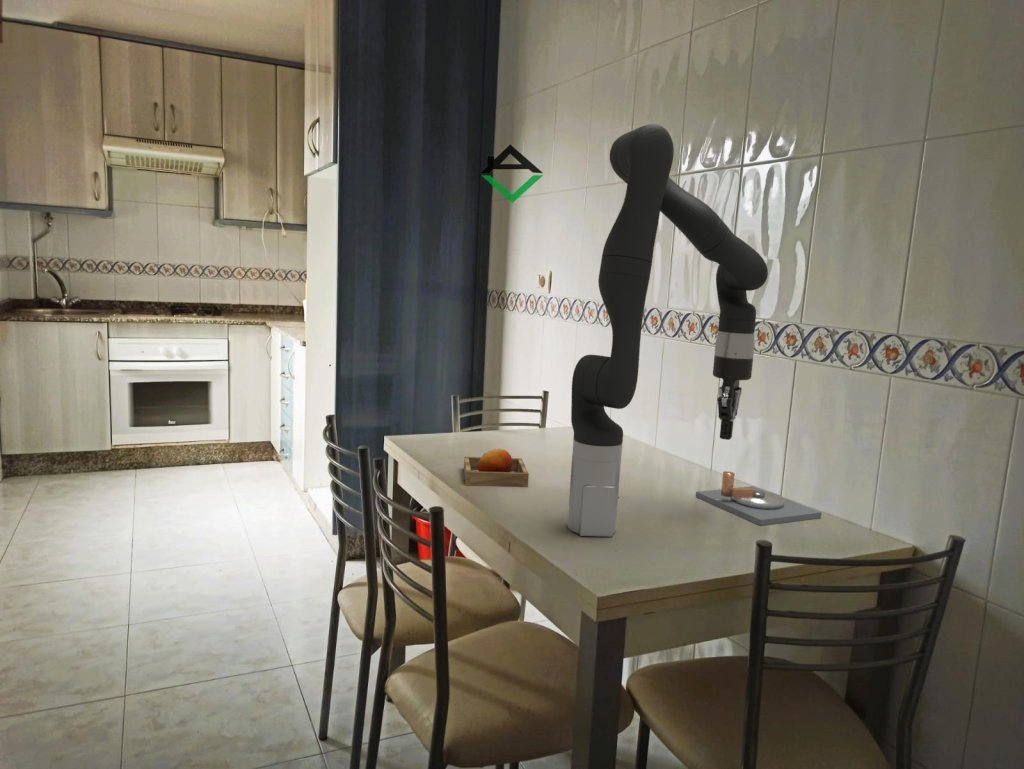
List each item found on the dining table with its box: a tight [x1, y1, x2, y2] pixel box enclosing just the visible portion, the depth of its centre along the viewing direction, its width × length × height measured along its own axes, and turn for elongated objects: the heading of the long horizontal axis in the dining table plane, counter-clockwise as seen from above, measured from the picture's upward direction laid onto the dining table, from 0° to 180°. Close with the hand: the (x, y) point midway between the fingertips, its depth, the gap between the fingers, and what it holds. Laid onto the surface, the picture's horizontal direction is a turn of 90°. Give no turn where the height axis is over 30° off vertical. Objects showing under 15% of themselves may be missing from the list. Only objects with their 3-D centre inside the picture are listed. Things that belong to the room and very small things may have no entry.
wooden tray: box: [463, 456, 530, 488], centre depth 174 cm, size 14×14×3 cm
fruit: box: [477, 448, 513, 472], centre depth 174 cm, size 8×8×8 cm
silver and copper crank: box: [721, 470, 785, 509], centre depth 162 cm, size 14×11×6 cm
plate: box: [695, 485, 822, 527], centre depth 163 cm, size 20×17×2 cm
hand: (725, 438), depth 153 cm, fingers closed
